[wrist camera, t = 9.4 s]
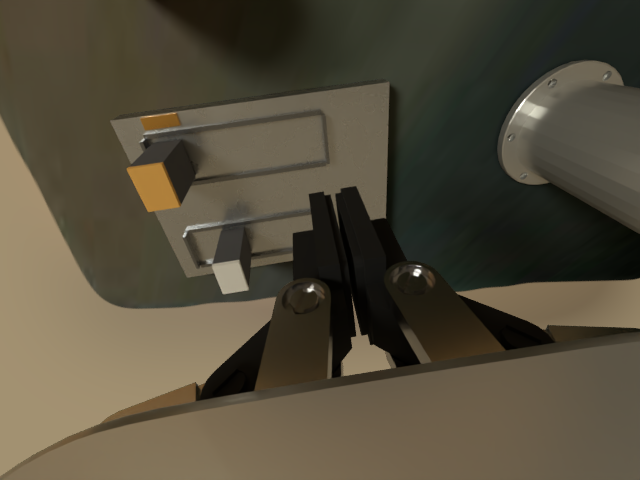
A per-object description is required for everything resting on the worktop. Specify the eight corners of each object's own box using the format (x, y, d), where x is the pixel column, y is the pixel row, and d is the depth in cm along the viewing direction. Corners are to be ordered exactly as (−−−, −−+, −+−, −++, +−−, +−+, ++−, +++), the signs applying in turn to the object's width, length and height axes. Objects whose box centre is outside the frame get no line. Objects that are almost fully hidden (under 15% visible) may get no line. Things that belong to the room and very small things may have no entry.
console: (382, 78, 28) (393, 83, 26) (380, 236, 39) (387, 250, 36) (119, 114, 27) (104, 123, 25) (190, 266, 38) (185, 283, 35)
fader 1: (181, 138, 27) (161, 164, 22) (195, 176, 29) (179, 207, 24) (153, 142, 27) (126, 169, 22) (169, 180, 29) (148, 212, 24)
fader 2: (244, 227, 33) (238, 262, 28) (251, 253, 35) (248, 290, 30) (220, 230, 33) (211, 266, 28) (230, 256, 35) (223, 294, 30)
